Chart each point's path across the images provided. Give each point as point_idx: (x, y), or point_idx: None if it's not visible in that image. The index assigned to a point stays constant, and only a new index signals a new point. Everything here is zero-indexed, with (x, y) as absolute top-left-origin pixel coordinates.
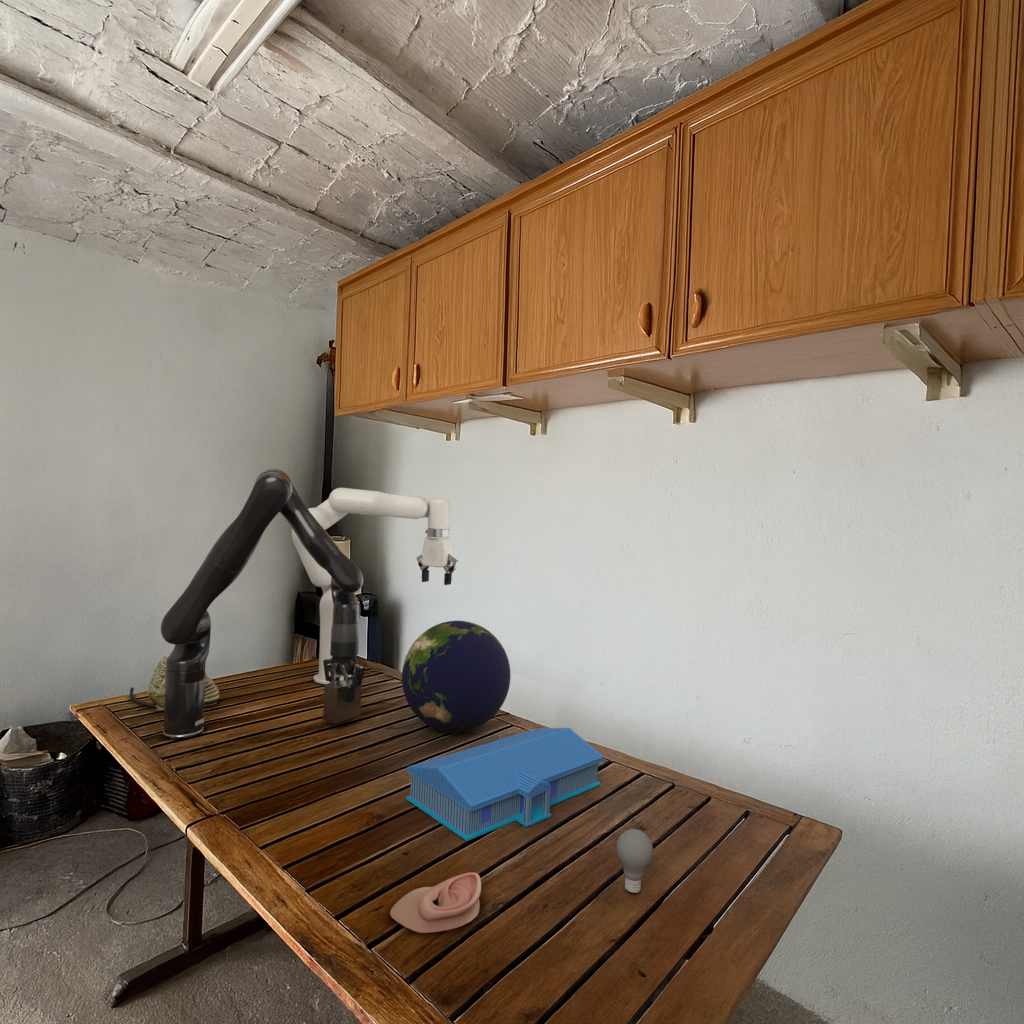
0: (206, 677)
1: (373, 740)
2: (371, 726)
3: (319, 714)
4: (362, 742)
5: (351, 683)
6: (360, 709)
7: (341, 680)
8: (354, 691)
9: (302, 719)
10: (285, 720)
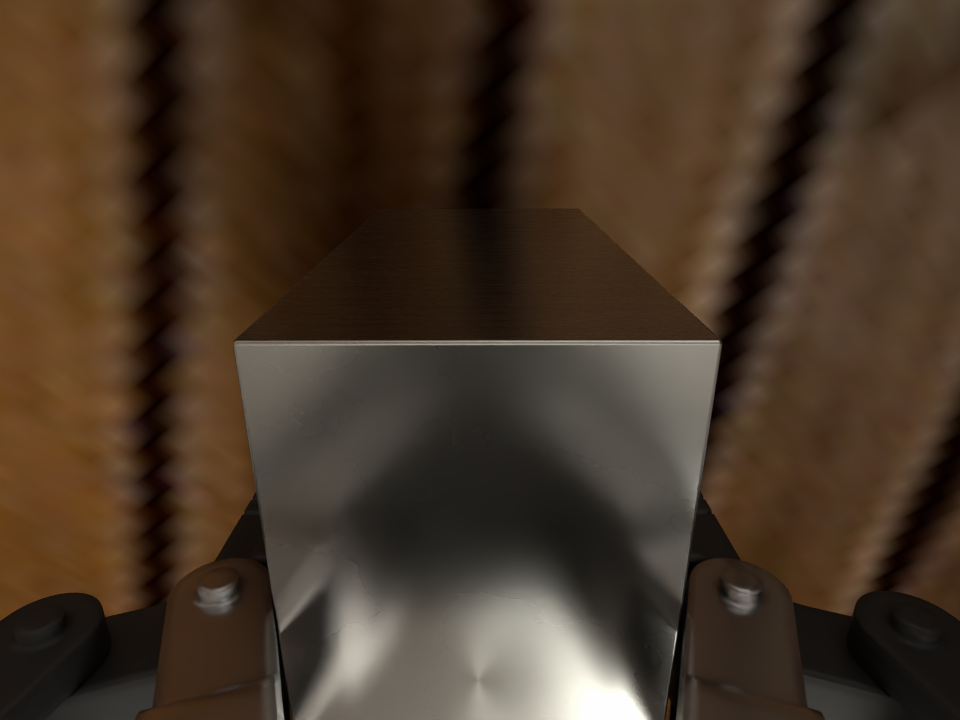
0: None
1: (906, 412)
2: (708, 184)
3: (72, 253)
4: (848, 483)
5: (669, 634)
6: (589, 220)
7: (327, 613)
8: (727, 549)
9: (97, 426)
10: (31, 513)
